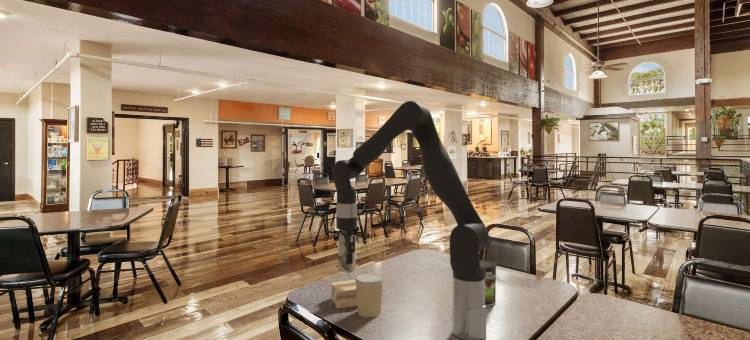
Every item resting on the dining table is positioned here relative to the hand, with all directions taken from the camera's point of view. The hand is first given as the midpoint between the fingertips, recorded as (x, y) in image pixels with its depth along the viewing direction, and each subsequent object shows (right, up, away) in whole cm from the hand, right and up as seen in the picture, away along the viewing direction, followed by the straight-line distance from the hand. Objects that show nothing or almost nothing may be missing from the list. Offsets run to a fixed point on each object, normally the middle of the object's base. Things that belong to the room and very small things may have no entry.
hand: (347, 260), depth 137 cm
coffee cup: (+8, -16, -9) cm, 20 cm away
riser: (0, -15, +1) cm, 15 cm away
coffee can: (+49, -15, 0) cm, 51 cm away
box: (0, -4, 0) cm, 4 cm away
